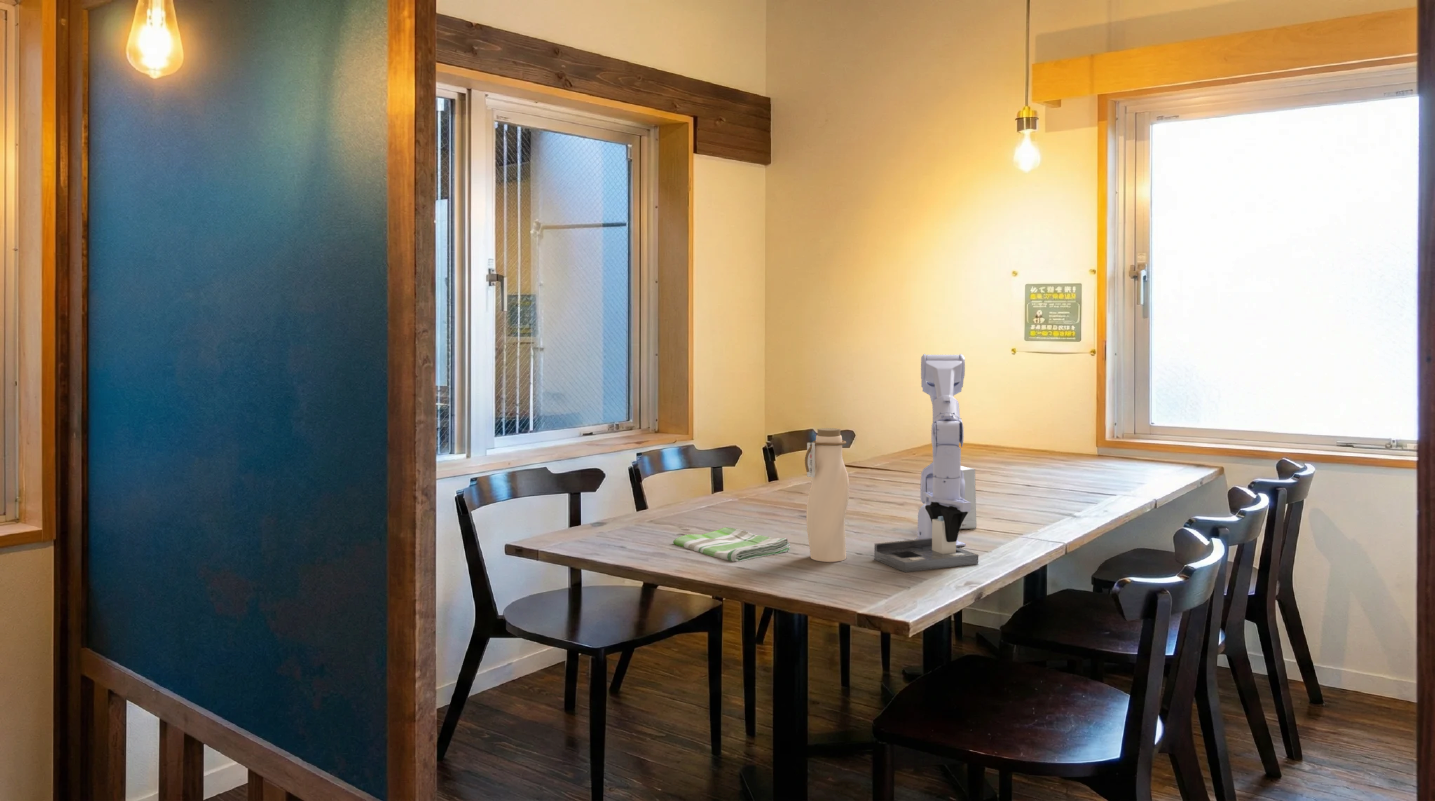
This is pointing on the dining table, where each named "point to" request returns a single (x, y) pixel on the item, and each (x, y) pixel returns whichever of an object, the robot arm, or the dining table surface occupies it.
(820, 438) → the water bottle
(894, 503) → the dining table surface
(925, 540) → the port panel
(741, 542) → the dish towel
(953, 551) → the plug
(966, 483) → the skincare box
